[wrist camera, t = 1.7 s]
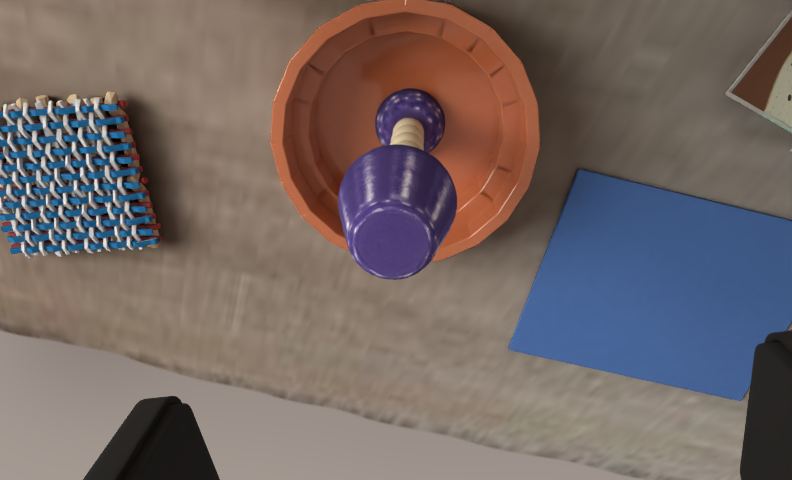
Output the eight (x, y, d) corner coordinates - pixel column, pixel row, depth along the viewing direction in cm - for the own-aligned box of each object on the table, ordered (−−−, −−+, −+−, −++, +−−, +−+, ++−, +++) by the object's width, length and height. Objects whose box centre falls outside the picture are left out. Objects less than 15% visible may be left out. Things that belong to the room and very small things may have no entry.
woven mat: (-35, 100, 34) (-61, 105, 32) (129, 87, 33) (112, 93, 31) (25, 251, 38) (5, 264, 36) (172, 243, 37) (159, 256, 35)
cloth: (508, 347, 39) (508, 350, 39) (577, 168, 34) (579, 169, 33) (738, 398, 40) (740, 401, 40) (844, 232, 35) (847, 234, 34)
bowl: (317, 246, 37) (304, 277, 33) (263, 21, 31) (239, 24, 27) (531, 219, 35) (545, 248, 31) (517, -23, 30) (532, -26, 25)
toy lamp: (438, 170, 34) (452, 310, 19) (364, 160, 34) (318, 294, 19) (450, 92, 32) (477, 178, 17) (371, 82, 32) (327, 160, 17)
